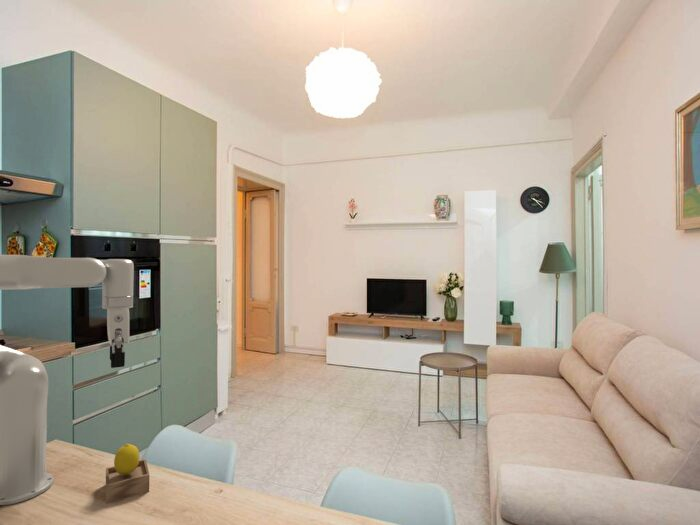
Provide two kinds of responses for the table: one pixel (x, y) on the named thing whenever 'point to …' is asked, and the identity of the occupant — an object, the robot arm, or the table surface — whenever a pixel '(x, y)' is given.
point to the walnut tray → (126, 482)
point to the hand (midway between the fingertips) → (116, 363)
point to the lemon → (126, 459)
